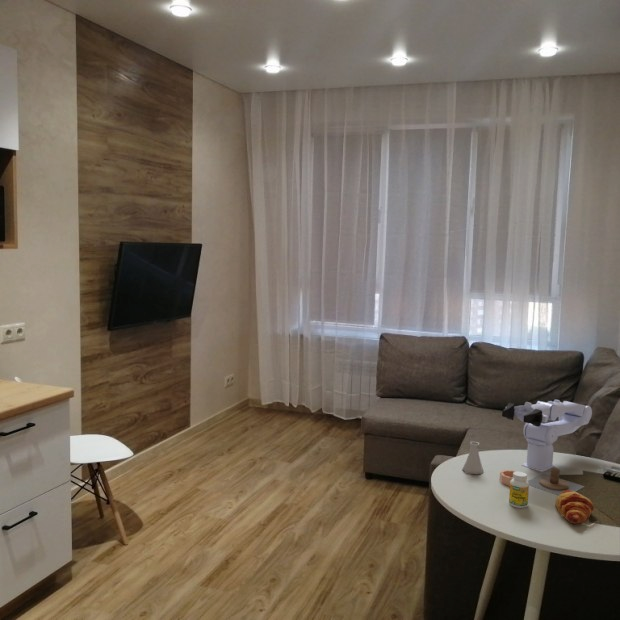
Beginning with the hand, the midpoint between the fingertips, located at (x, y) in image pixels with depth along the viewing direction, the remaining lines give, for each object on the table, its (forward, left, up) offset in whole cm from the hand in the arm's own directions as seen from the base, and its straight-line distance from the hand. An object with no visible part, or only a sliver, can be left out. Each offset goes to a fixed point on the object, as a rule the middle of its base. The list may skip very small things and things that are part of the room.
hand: (513, 416), depth 201 cm
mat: (-7, +12, -22) cm, 26 cm away
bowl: (+2, +2, -22) cm, 22 cm away
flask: (+3, -12, -22) cm, 25 cm away
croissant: (+8, +25, -22) cm, 35 cm away
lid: (-7, +12, -21) cm, 25 cm away
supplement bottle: (+16, +12, -22) cm, 30 cm away
